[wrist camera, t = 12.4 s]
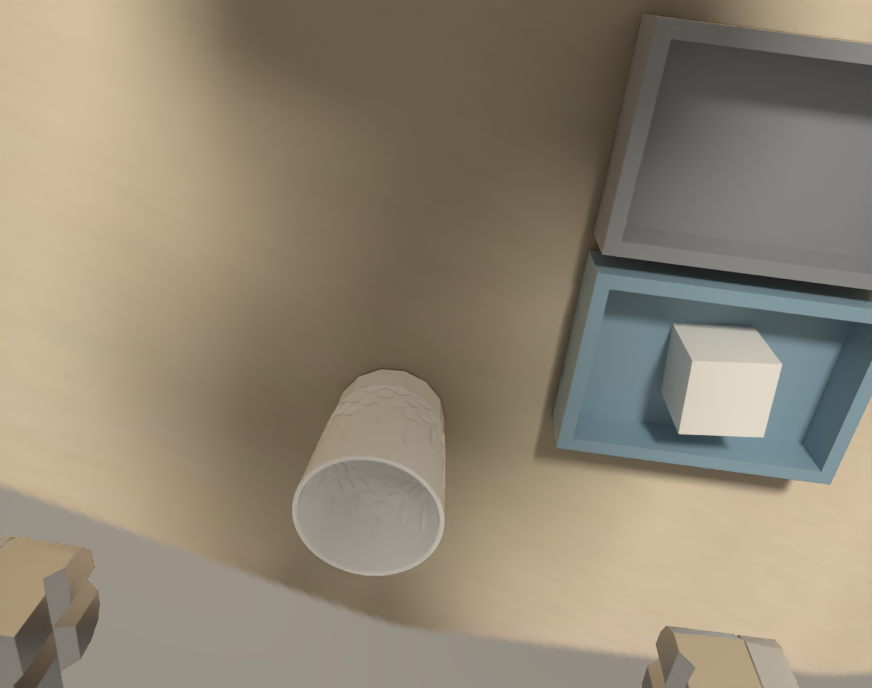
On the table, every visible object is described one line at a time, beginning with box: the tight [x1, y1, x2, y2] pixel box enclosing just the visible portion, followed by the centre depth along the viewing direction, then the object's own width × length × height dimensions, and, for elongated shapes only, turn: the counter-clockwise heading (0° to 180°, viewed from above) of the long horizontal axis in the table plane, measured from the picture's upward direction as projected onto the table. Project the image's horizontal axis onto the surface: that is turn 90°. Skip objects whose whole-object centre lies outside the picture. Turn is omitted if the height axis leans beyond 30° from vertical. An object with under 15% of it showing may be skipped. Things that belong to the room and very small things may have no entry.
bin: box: [552, 250, 872, 485], centre depth 41 cm, size 11×16×4 cm
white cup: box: [292, 369, 446, 576], centre depth 41 cm, size 8×8×10 cm
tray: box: [593, 13, 872, 290], centre depth 35 cm, size 11×16×4 cm
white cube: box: [661, 323, 782, 438], centre depth 40 cm, size 4×4×4 cm
